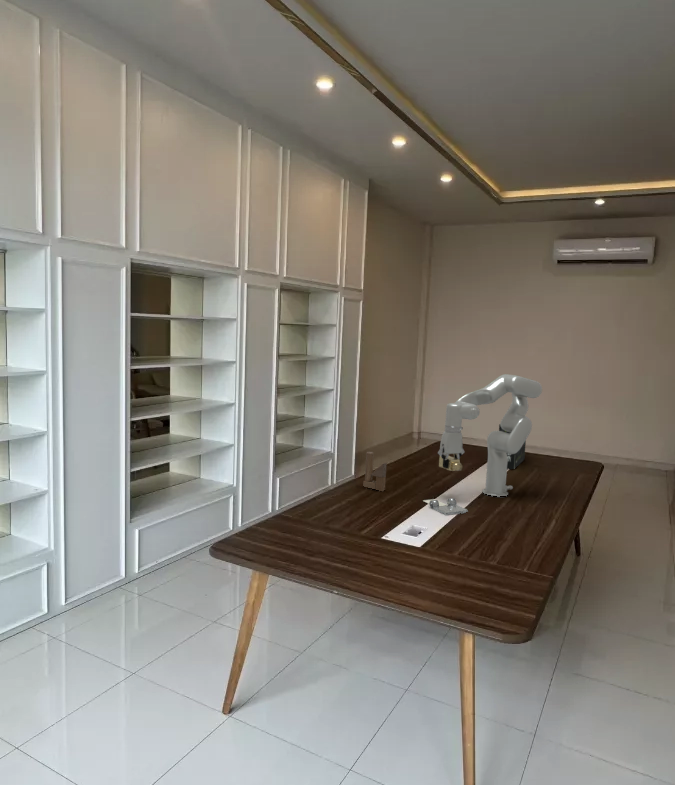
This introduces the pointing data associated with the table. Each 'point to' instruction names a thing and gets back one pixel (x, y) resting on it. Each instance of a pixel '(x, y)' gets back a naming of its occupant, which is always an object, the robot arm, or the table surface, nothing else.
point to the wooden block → (374, 474)
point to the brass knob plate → (451, 464)
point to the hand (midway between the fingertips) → (450, 467)
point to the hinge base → (447, 507)
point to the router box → (515, 455)
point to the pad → (438, 501)
